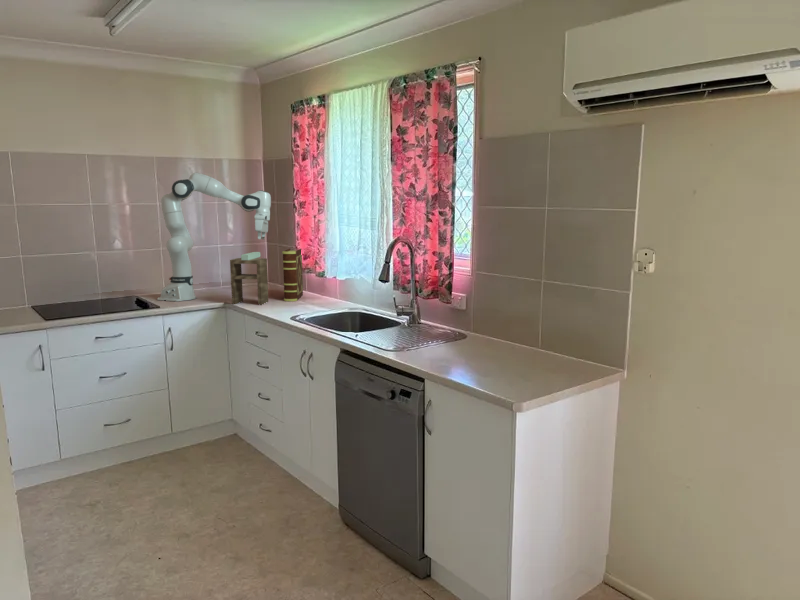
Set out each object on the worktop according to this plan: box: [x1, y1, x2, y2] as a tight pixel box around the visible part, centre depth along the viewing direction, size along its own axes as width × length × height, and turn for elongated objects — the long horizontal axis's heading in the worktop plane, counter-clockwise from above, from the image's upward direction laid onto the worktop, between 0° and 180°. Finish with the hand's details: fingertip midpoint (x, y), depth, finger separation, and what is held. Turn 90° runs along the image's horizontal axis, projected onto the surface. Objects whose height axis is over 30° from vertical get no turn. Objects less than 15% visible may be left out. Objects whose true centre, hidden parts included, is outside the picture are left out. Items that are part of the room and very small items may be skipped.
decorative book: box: [281, 248, 304, 302], centre depth 363 cm, size 22×8×30 cm, turn 179°
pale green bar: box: [240, 251, 261, 260], centre depth 349 cm, size 4×19×3 cm, turn 172°
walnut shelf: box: [229, 257, 269, 306], centre depth 347 cm, size 18×11×26 cm, turn 82°
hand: (261, 239), depth 370 cm, fingers open, 8 cm apart
